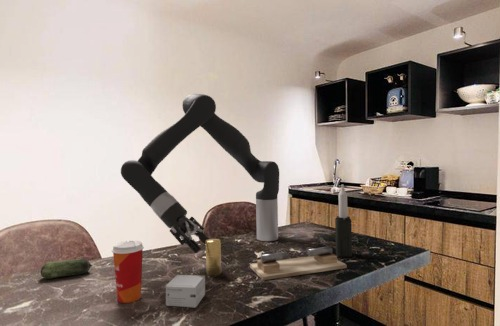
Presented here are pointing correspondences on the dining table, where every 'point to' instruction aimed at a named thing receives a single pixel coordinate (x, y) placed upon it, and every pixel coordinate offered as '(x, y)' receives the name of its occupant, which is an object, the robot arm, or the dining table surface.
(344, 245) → the black and grey bottle
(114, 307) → the dining table surface
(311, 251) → the shafts
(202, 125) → the robot arm
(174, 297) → the small box
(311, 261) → the shaft bench
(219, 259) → the cylinder
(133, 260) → the paper cup
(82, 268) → the vegetable
